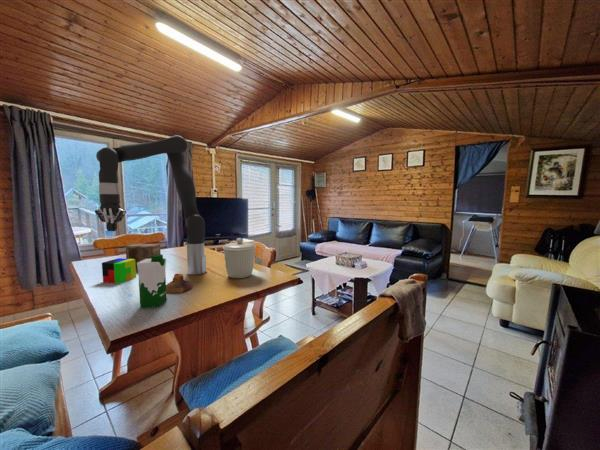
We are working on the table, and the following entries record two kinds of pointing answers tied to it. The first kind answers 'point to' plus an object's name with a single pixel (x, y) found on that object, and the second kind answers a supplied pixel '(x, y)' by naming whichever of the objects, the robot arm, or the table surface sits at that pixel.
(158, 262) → the milk carton
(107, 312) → the table surface
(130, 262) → the puzzle toy
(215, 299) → the table surface
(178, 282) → the bell
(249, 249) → the canister
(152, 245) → the brown wooden box
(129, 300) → the table surface
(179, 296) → the table surface
